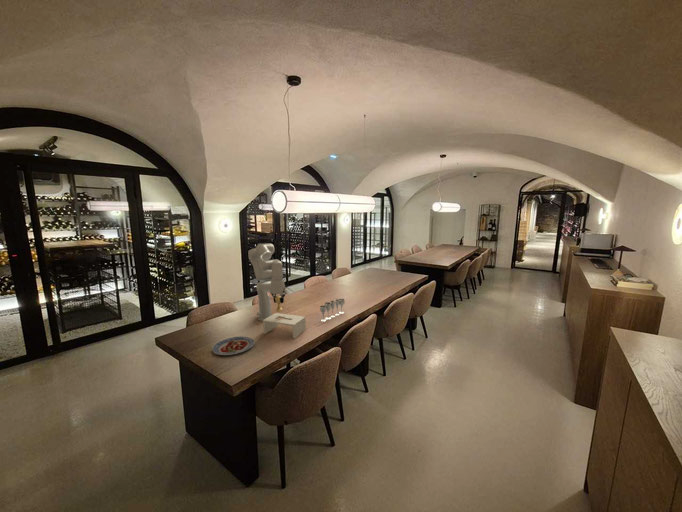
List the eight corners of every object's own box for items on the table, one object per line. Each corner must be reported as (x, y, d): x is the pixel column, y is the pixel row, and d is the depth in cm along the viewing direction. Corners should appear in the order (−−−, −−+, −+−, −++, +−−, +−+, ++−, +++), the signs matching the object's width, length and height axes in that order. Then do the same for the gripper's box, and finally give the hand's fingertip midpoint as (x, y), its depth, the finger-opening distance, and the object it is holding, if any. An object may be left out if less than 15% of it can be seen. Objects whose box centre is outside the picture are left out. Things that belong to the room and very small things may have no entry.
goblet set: (323, 322, 226) (323, 306, 224) (318, 320, 230) (318, 304, 228) (346, 312, 247) (346, 297, 245) (341, 311, 251) (341, 296, 249)
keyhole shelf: (263, 333, 207) (262, 320, 206) (276, 325, 222) (275, 313, 220) (294, 338, 198) (294, 324, 196) (305, 329, 212) (305, 316, 211)
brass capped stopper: (274, 311, 207) (273, 297, 206) (278, 309, 212) (277, 295, 210) (280, 312, 206) (279, 298, 204) (284, 309, 210) (283, 296, 209)
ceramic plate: (225, 338, 200) (224, 334, 199) (260, 339, 197) (260, 335, 197) (204, 357, 175) (203, 352, 174) (244, 358, 172) (243, 354, 171)
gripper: (264, 278, 205) (265, 303, 207) (284, 280, 199) (286, 305, 201) (270, 276, 212) (272, 300, 214) (290, 277, 206) (291, 302, 208)
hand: (278, 302), depth 208 cm, fingers closed on brass capped stopper, 5 cm apart
